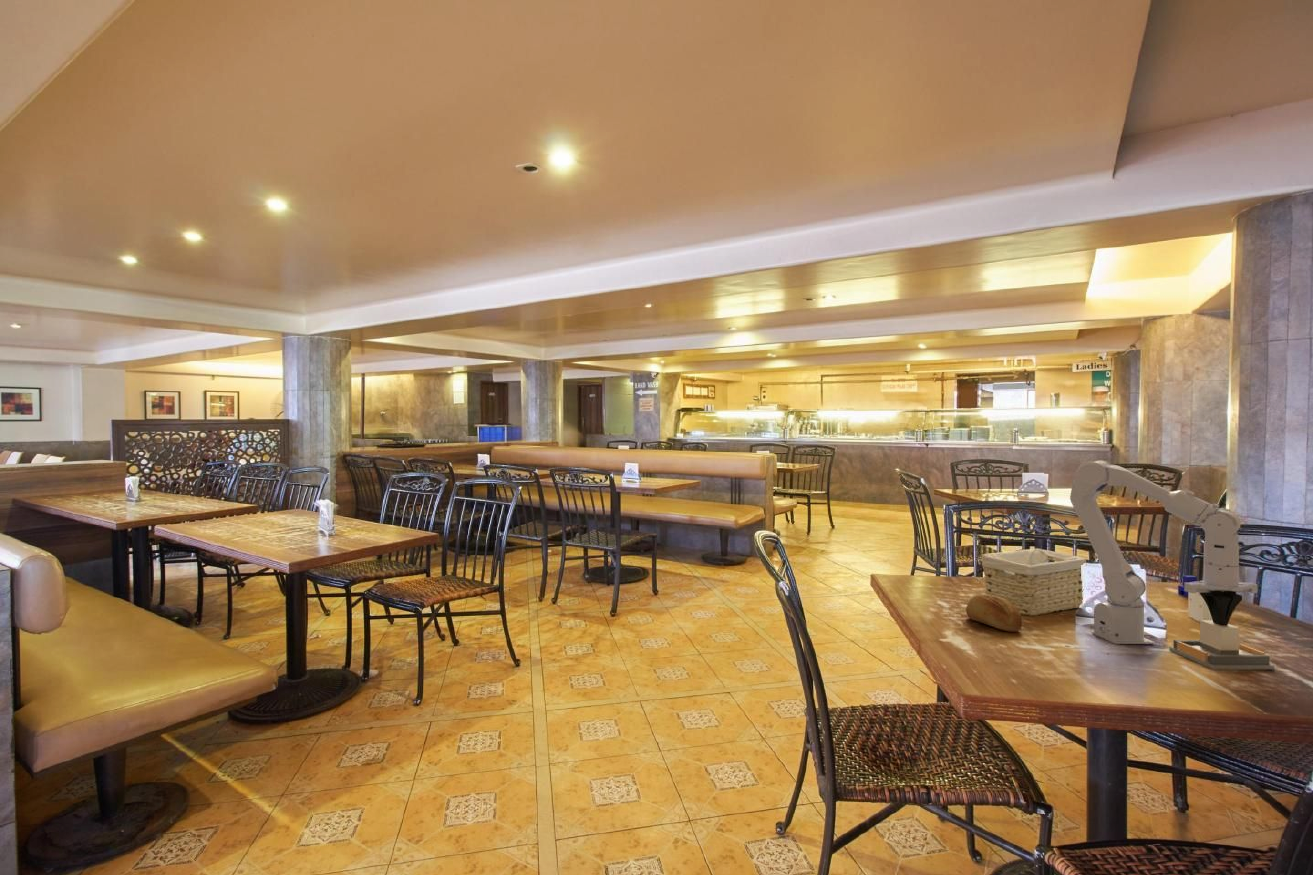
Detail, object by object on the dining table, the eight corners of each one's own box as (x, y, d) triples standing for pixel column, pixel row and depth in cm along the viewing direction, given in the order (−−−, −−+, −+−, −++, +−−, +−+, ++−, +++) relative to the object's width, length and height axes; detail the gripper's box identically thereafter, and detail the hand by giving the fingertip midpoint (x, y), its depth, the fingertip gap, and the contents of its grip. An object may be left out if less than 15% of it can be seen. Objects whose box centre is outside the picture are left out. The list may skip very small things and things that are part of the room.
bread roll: (1004, 637, 148) (1004, 605, 147) (955, 619, 162) (955, 590, 162) (1032, 633, 151) (1032, 601, 151) (982, 615, 165) (982, 586, 165)
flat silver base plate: (1207, 660, 130) (1207, 655, 130) (1183, 650, 136) (1183, 645, 136) (1257, 660, 130) (1257, 655, 130) (1231, 650, 136) (1231, 645, 136)
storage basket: (1029, 618, 162) (1029, 564, 162) (978, 602, 177) (978, 553, 177) (1089, 609, 170) (1090, 558, 170) (1036, 594, 185) (1036, 547, 185)
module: (1220, 654, 131) (1221, 627, 131) (1199, 646, 136) (1200, 620, 136) (1238, 654, 131) (1239, 627, 131) (1217, 646, 136) (1217, 620, 136)
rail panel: (1213, 669, 128) (1213, 656, 128) (1169, 650, 139) (1169, 638, 139) (1274, 669, 128) (1274, 656, 128) (1225, 649, 139) (1225, 638, 139)
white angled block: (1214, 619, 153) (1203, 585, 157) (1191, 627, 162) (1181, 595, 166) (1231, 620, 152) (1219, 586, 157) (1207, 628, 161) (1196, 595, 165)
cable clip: (1178, 594, 184) (1178, 575, 184) (1191, 594, 185) (1192, 575, 185) (1216, 606, 172) (1216, 586, 172) (1231, 606, 173) (1231, 585, 173)
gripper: (1204, 568, 129) (1204, 630, 129) (1271, 568, 129) (1271, 630, 129) (1176, 560, 136) (1175, 620, 136) (1240, 560, 136) (1239, 619, 136)
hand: (1220, 624), depth 133 cm, fingers closed, pressing on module
